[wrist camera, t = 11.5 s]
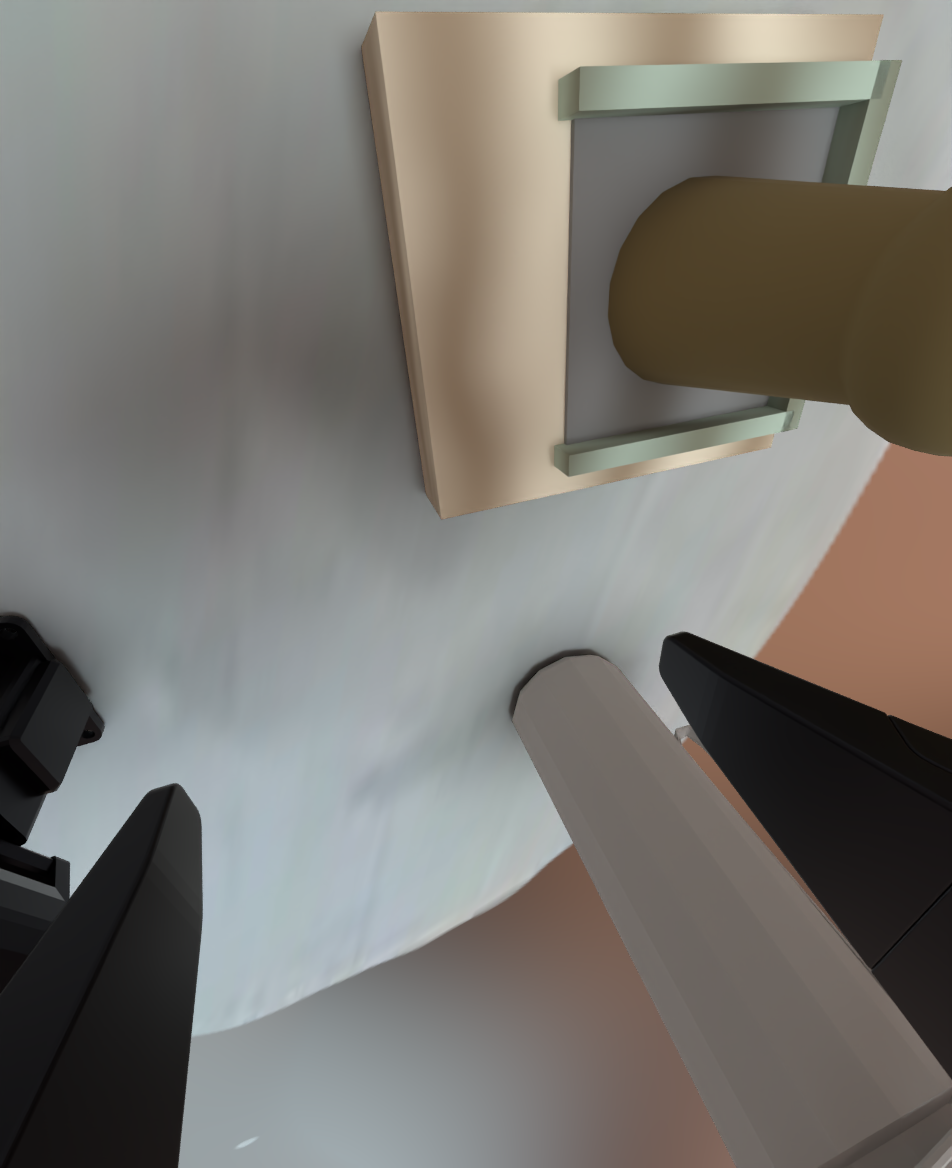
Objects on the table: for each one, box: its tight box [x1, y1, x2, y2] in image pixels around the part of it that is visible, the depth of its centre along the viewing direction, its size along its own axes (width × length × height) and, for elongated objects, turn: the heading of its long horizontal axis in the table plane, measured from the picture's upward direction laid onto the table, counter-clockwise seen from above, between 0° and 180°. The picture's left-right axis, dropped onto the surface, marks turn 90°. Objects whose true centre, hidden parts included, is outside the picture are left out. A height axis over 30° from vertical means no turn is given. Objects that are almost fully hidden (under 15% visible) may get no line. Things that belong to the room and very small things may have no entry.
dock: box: [361, 12, 902, 520], centre depth 17 cm, size 15×13×4 cm
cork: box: [608, 176, 952, 456], centre depth 13 cm, size 6×6×11 cm
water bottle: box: [512, 655, 952, 1168], centre depth 21 cm, size 9×8×25 cm
